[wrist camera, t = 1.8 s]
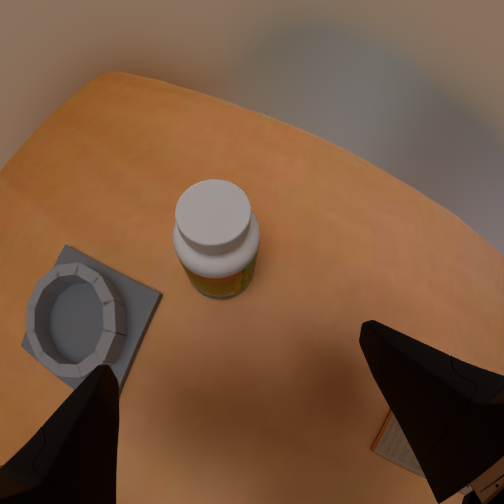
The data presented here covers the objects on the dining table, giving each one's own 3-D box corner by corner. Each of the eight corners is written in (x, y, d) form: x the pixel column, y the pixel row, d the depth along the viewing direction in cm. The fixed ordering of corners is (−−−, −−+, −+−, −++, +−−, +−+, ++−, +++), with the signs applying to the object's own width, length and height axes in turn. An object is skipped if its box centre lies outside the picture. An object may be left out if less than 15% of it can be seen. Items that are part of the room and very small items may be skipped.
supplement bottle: (250, 303, 23) (261, 264, 14) (184, 296, 22) (151, 253, 13) (255, 241, 25) (268, 172, 15) (193, 235, 24) (174, 165, 15)
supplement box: (367, 451, 18) (467, 500, 6) (391, 403, 20) (506, 416, 8) (427, 466, 17) (521, 495, 5) (447, 423, 19) (548, 432, 7)
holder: (162, 295, 22) (151, 285, 19) (113, 411, 18) (96, 417, 15) (69, 247, 23) (53, 233, 20) (26, 346, 19) (5, 342, 16)
